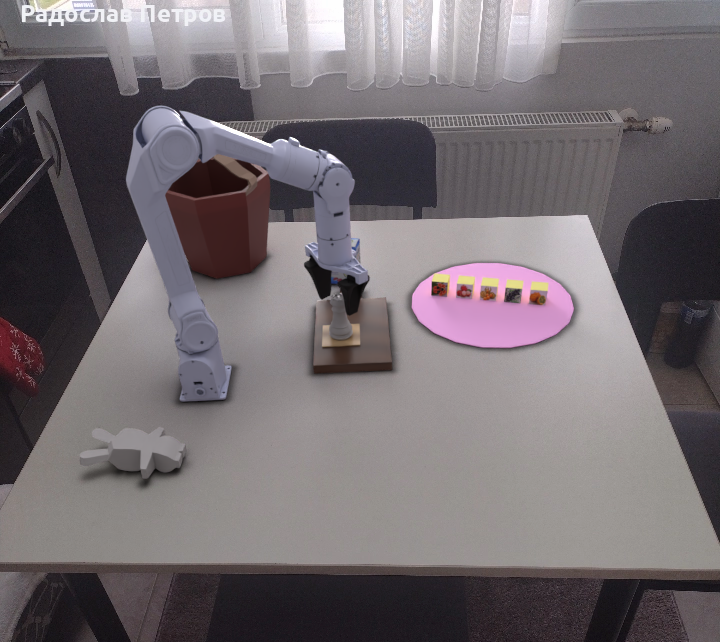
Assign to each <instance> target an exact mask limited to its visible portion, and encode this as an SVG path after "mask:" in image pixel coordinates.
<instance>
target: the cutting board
mask: <svg viewBox="0 0 720 642" xmlns="http://www.w3.org/2000/svg"><path fill="white" fill-rule="evenodd" d="M340 293H342V292H341V289H340V288H339V294H340ZM342 296H343V295H342ZM330 300H331V299H320V300H315V314H314V315H315V319H314V339H313V358H312V359H313V362H312V369H313V374H335V373H353V372H354V373H358V372H377V371H379V372H380V371H382V372H383V371H392V370H393V359H392V358H393V356H392V346H391V336H390V326H389V325H390V324H389V315H388V314H389V313H388V303H387V296H385V297H364V298H363V295H362V296H361V299H360V303H359V308H358V312H356V313H354V314H352V315H350V316H349V315H347V319H348V320H349V322H350V324H351V325H352V330H353V334H352V335H351V336H350V338H348V339H346V340H335V339H333V338H332V337H331V336H330V335H329V327H330V325H331V322H332V320H333V311H332V307H333V306H332V305H331V304H330ZM346 314H347V313H346Z"/></svg>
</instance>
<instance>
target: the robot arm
mask: <svg viewBox="0 0 720 642" xmlns="http://www.w3.org/2000/svg"><path fill="white" fill-rule="evenodd" d="M180 114H181V115H180ZM181 116H183V117H184V118H182V117H181ZM132 133H133V135H132V145H131V146H132V147H131V152H130V156H129V162H128V167H127V171H126V175H125V182H126V187H127V190H128V192H129V195H130V198H131V200H132V203H133V205H134V208H135V212H136V214H137V217H138V219H139V223H140V224H141V228H142V230H143V233H144V235H145V238H146V240H147V243H148V247H149V248H150V251H151V254H152V256H153V259H154V261H155V265H156V267H157V271H158V273H159V275H160V278H161V280H162V282H163V286H164V289H165V293H166V296H167V299H168V305H167V315H168V317H169V319H170V320H171V322H172V324H173V326H174V329H175V331H176V333H175V337H174V344H175V347H176V351H177V354H178V359H179V363H178V366H177V367H178V368H177V375H178V378H179V382H180V385H181V391H180V396H179V402H198V401H199V402H200V401H222V400H223V401H224V400H226V399H227V395H228V390H229V384H230V381H231V374H232V369H233V368H232V365H230V364H228V365H225V361H224V356H223V351H222V346H221V343H220V337H219V329H218V326H217V324H216V323H215V321H213V319H212V317H211V315H210V313H209V311H208V310H207V307H206V304H205V301H204V300H203V298H201V296H200V294H199V291H198V290H197V286H196V283H195V279H194V278H193V275H192V272H191V271H192V270H191V267H190V264H189V262H188V260H187V258H186V256H185V253H184V251H183V248H182V245H181V242H180V239H179V236H178V233H177V230H176V227H175V224H174V221H173V218H172V215H171V212H170V209H169V206H168V203H167V200H166V197H165V194H166V192H167V191H168V189H169V188H170V186H171V185H172V183H173V182H175V181H176V180H177V179H179V178H180V177H181V176H182V175H184V174H185V173H186V172H188V171H189V170H190V169H191V168H192V167H193V166H194V165H195V163H196V162H197V160H199V159H200V160H201V162H202V163H205V162H207V161H208V160H209V159H211V158H212V157H214V156H215V155H217V154H220V155H224V156H227V157H231V158H234V159H238V160H241V161H245V162H248V163H252V164H255V165H259V166H260V167H262V168H265V170H266V171H267V172H268V174H269V178H270V179H272V180H274V181H278V182H281V183H284V184H287V185H290V186H293V187H295V188H299V189H302V190H304V191H309V192H312V193H313V194H312V195H313V206H314V207H313V209H314V222H315V232H316V233H315V234H316V242H315V241H312V242H310V243H308V244H304V252H305V256H306V257H307V258H308V260H306V261H305V262H304V263H303V267H304V269H305V270H306V271H307V273H308V274H309V276H310V278H311V280H312V282H313V284H314V287H315V289H316V292H317V295H318V297H319V299H320V300H325V299H326V298H328V297H330V296H332V295H331V294H332V284H331V274H332V271H335V272H340V273H344V274H346V275H347V278H345V279H343V280H341V281H339V282H337V284H336V285H337V286H338V288H339V290H340V289H341V292H342V295H343V298H344V304H345V310H346V313H347V315H349V316H350V315H352V314H354V313H356V312H358V308H359V303H360V299H361V296H362V297H363V293H364V291H365V289H366V287H367V285H368V284H369V282H370V279H371V277H370V275H369V271H368V269H366V268H365V267H363V265H362V264H360V263H359V262H358V261H357V260H356V258H355V257H354V256H355V255H356V251H355V250H353V249H352V247H351V238H352V230H351V228H352V227H351V207H350V196H351V194H352V193H353V191H354V188H355V184H356V180H355V179H354V178H353V174H352V172H351V170H350V169H349V167H348V166H346V165H345V164H344V163H343V162H342V161H341V160H340V159H339V158H337V157H336V156H335V155H333V154H331V153H330V152H329V151H328V150H323V149H320V148H319V149H318V151H316V150H313V149H310V148H308V147H306V146H302V145H301V142H300V141H299V140H297V139H296V138H294V137H291V136H289V137H288V140H286V139H283V138H280V139H279V138H278V139H277V140H275V141H273V142H271V143H268V142H265V141H263V140H261V139H258V138H255V137H254V136H250V135H248V134H246V133H243V132H241V131H238V130H236V129H233V128H231V127H228V126H226V125H224V124H221V123H218V122H217V121H214V120H211V119H209V118H206V117H202V116H201V115H197V114H195V113H193V112H189V111H184V110H179V113H178V112H177V111H176V110H175V109H173V108H171V107H169V106H166V105H155V106H152V107H150V108H149V109H147V110H146V111H145V112H144V114H142V116H141V118H140V119H139V120H138V122H137V123H136V125H135V126H134V128H133V132H132Z"/></svg>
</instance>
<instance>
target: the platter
mask: <svg viewBox="0 0 720 642" xmlns="http://www.w3.org/2000/svg"><path fill="white" fill-rule="evenodd" d="M411 297H412V298H411V310H412V312H413V314H414V315H415V318H416V319H417V321H418V323H420V324H421V325H423V327H425V328H427V330H429V331H430V332H431V333H432V334H434V335H437V336H438V337H441V338H444V339H446V340H449V341H451V342H453V343H456V344H460V345H466V346H471V347H477V348H481V349H512V348H520V347H524V346H531V345H535V344H538V343H540V342H543V341H545V340H547V339H550V338H552V337H555V336H556V335H558V334H559V333H560V332H562V330H563V329H565V327H567V326H568V325H569V324H570V321H571V319H572V316H573V313H574V310H575V307H574V304H573V300H572V296H571V295H570V293H569V292H568V291H567V290H566V288H565V287H563V285H562V284H561V283H559V282H558V281H557V280H554V279H553V278H551V277H550V276H548V275H547V274H544V273H542V272H539V271H536V270H533V269H530V268H528V267H525V266H520V265H515V264H514V265H513V264H508V263H507V264H506V263H500V262H474V263H468V264H461V265H455V266H451V267H448V268H446V269H443V270H440V271H437V272H435V273H433V274H431V275H430V276H429V277H427V278H426V279H424V280H423V281H421V282H420V283H419V284H418V286H417V287H416V288H415V290H414V292H413V293H412V296H411Z"/></svg>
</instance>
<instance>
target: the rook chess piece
mask: <svg viewBox="0 0 720 642" xmlns="http://www.w3.org/2000/svg"><path fill="white" fill-rule="evenodd" d="M329 300H330V304H331V305H332V306H333V307H332V311H333V320H332V322H331V325H330V327H329V335H330V336H331V337H332V338H333V339H335V340H346V339H348V338H350V336H351V335H352V334H353V330H352V325H351V324H350V322H349V320H348V319H347V314H346V310H345V304H344V298H343V296H342V293H340V292H339V294H338V293H337V292H336V293H334V294H332V295H331V299H329Z"/></svg>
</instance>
